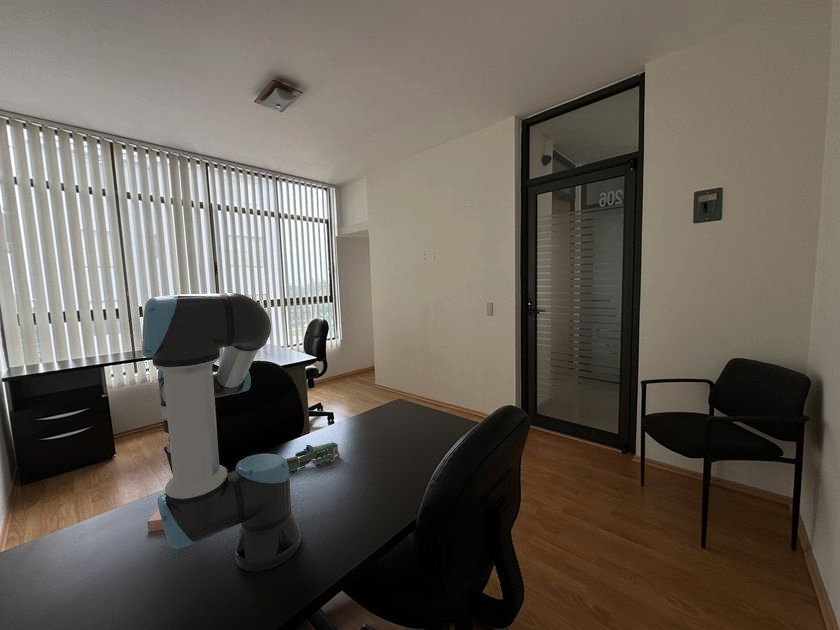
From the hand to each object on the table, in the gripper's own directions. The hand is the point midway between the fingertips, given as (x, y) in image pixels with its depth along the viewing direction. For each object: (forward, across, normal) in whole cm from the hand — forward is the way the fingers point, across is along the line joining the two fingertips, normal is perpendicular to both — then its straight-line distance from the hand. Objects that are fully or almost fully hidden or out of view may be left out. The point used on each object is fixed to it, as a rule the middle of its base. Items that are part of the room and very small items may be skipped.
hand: (184, 490), depth 109 cm
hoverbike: (+4, +14, -34) cm, 37 cm away
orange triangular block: (+4, -9, 0) cm, 10 cm away
